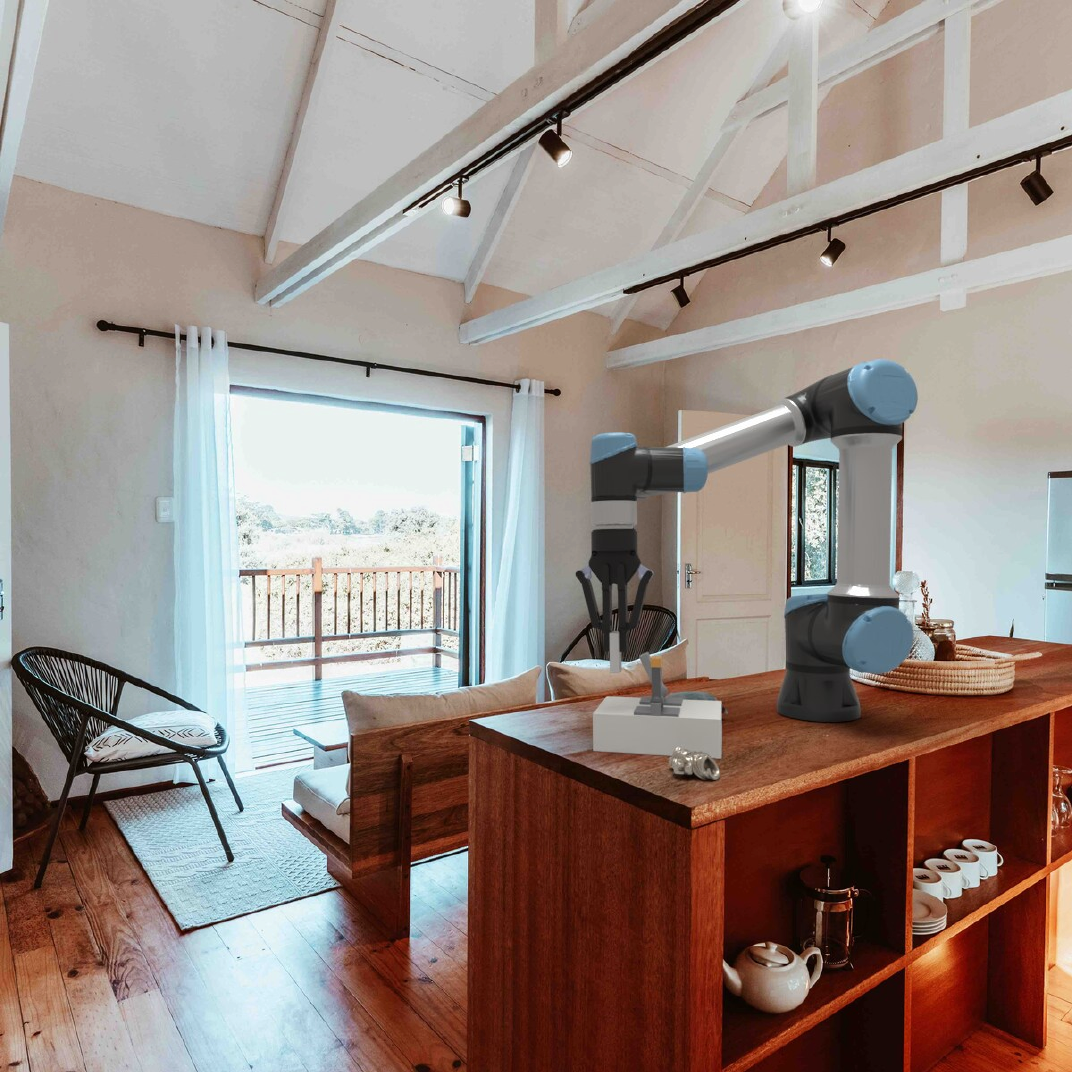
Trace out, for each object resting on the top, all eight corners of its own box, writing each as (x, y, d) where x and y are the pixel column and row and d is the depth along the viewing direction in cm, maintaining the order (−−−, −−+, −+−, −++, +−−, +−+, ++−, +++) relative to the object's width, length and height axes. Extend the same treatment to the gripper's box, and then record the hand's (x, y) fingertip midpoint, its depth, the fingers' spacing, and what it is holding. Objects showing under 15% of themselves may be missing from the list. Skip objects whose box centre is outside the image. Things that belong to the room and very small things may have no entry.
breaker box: (721, 735, 128) (720, 652, 129) (721, 758, 115) (720, 664, 115) (606, 729, 133) (605, 649, 133) (593, 751, 120) (592, 661, 120)
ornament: (654, 774, 108) (654, 749, 108) (686, 765, 112) (686, 741, 112) (696, 788, 102) (696, 761, 102) (729, 778, 106) (728, 752, 106)
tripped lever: (664, 705, 121) (663, 656, 121) (662, 709, 119) (662, 658, 119) (651, 705, 122) (651, 655, 122) (650, 709, 119) (649, 658, 119)
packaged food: (657, 712, 147) (657, 687, 147) (717, 711, 148) (717, 686, 148) (666, 723, 139) (666, 697, 139) (729, 723, 139) (729, 696, 139)
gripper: (656, 527, 124) (658, 669, 124) (579, 529, 128) (581, 666, 127) (651, 526, 117) (653, 677, 117) (570, 528, 120) (572, 674, 120)
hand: (615, 671), depth 122 cm, fingers closed
